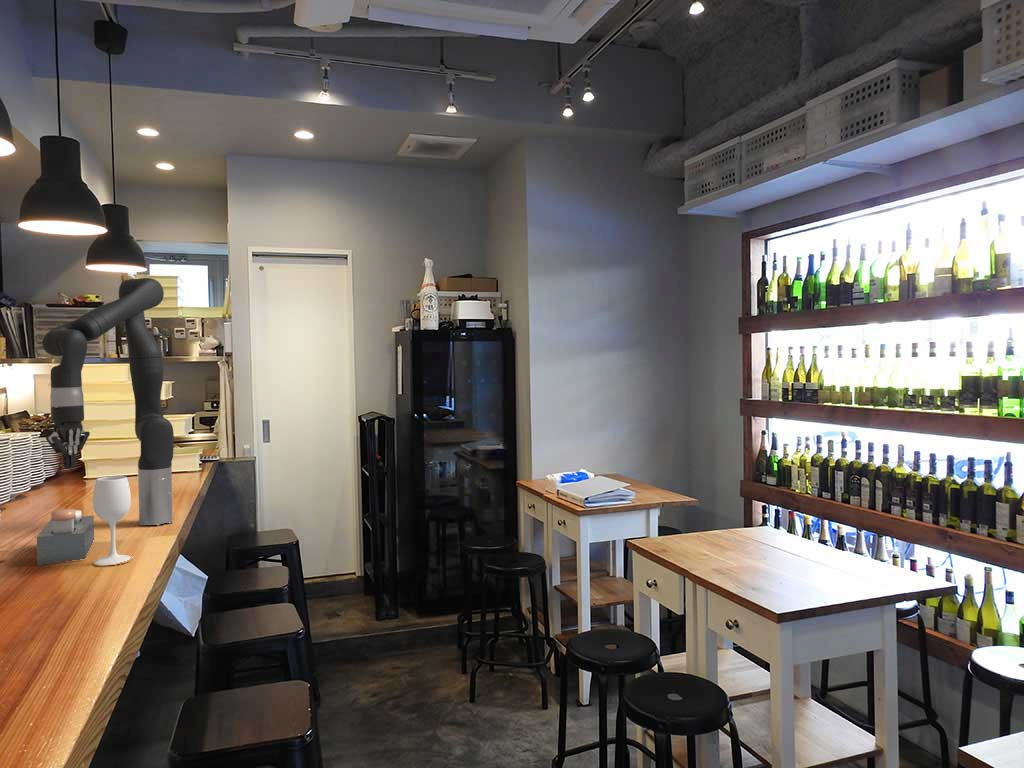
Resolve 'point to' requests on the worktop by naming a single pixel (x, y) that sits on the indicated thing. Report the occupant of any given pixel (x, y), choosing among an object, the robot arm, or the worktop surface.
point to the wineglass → (112, 509)
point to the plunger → (63, 520)
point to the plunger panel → (65, 542)
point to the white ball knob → (78, 516)
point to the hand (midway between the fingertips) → (69, 468)
